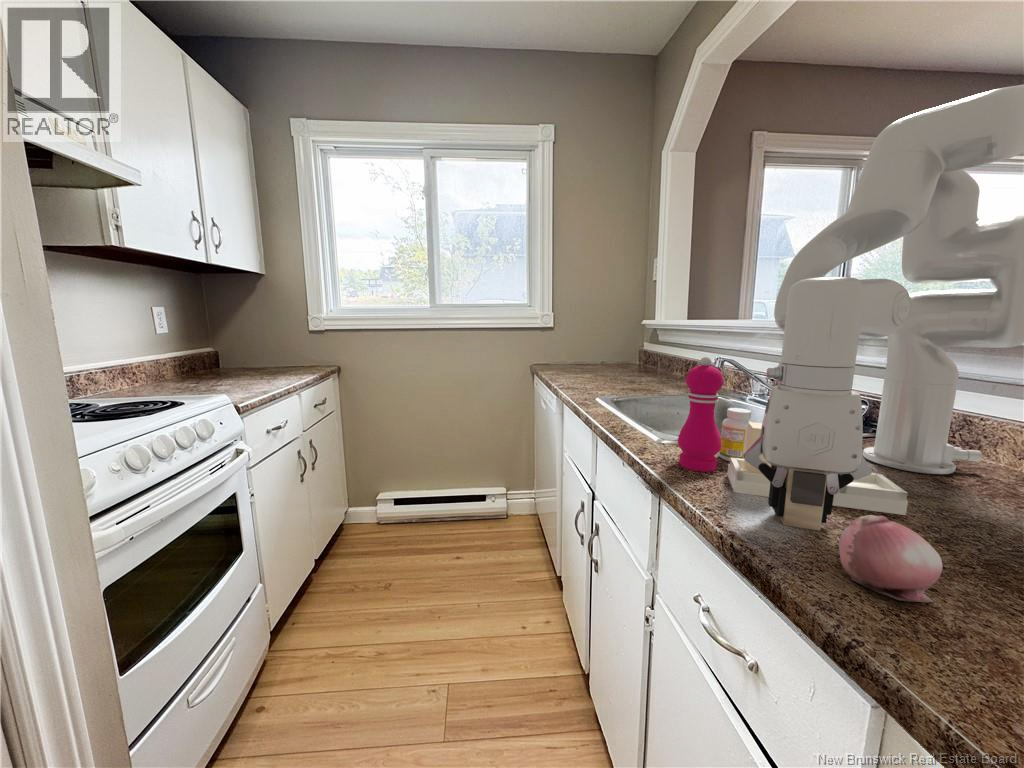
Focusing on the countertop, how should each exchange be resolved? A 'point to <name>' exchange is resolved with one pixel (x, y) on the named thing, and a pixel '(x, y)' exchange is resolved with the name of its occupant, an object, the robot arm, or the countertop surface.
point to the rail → (858, 494)
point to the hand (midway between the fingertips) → (797, 514)
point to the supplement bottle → (734, 433)
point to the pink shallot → (889, 558)
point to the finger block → (804, 498)
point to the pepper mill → (701, 419)
